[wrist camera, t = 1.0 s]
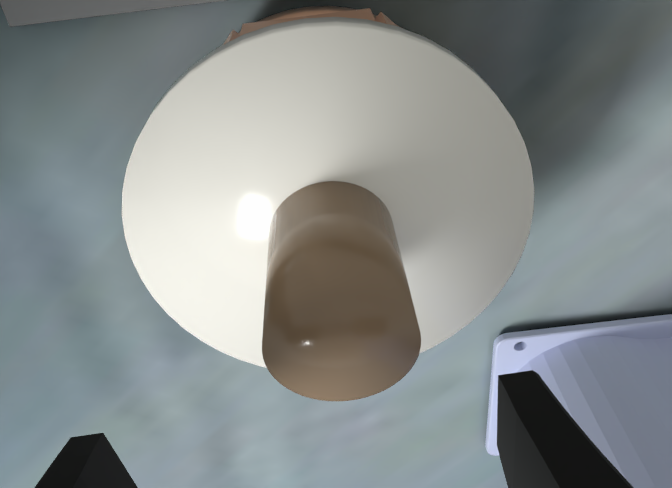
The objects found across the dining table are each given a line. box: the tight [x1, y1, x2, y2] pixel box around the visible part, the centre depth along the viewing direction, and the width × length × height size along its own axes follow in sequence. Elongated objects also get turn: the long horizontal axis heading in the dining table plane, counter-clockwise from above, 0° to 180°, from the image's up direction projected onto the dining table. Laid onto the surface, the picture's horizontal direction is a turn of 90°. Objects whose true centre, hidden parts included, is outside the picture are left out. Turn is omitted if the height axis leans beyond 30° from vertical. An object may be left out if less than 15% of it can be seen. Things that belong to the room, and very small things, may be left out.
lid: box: [122, 17, 534, 401], centre depth 14 cm, size 10×10×5 cm
